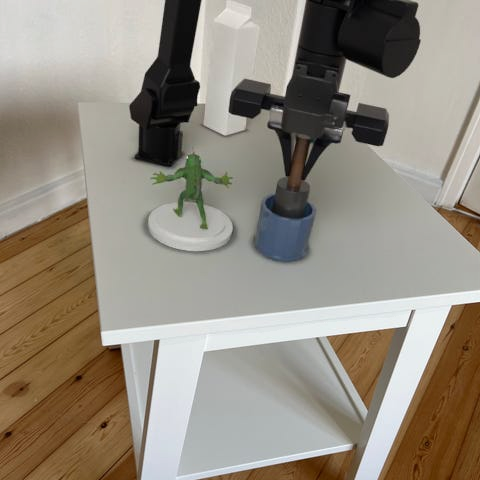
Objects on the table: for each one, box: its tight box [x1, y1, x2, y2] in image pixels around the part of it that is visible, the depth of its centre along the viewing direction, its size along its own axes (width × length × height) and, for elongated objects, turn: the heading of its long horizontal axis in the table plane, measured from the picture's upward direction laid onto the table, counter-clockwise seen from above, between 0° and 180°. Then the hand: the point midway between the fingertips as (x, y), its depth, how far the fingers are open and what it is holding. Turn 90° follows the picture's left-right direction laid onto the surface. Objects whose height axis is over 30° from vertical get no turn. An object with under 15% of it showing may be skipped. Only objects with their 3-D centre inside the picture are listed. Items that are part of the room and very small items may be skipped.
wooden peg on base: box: [272, 134, 311, 219], centre depth 72 cm, size 4×4×10 cm
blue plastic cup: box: [254, 192, 317, 262], centre depth 77 cm, size 7×7×6 cm
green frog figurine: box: [147, 146, 234, 252], centre depth 76 cm, size 12×12×10 cm
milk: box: [203, 0, 261, 137], centre depth 103 cm, size 6×6×22 cm
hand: (295, 177), depth 72 cm, fingers closed on wooden peg on base, 2 cm apart
